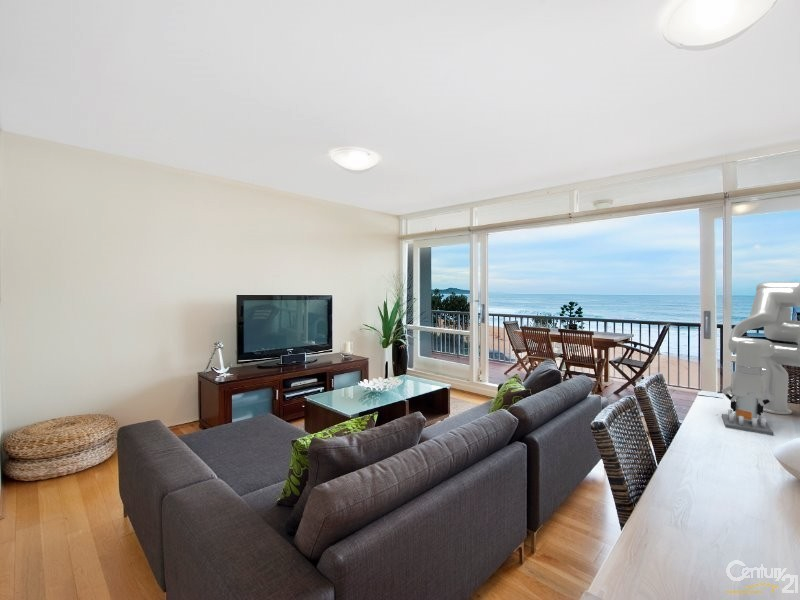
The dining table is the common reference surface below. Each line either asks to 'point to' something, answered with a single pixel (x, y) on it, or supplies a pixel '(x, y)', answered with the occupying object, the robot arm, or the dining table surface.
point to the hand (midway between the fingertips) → (746, 412)
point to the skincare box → (747, 407)
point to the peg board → (747, 423)
